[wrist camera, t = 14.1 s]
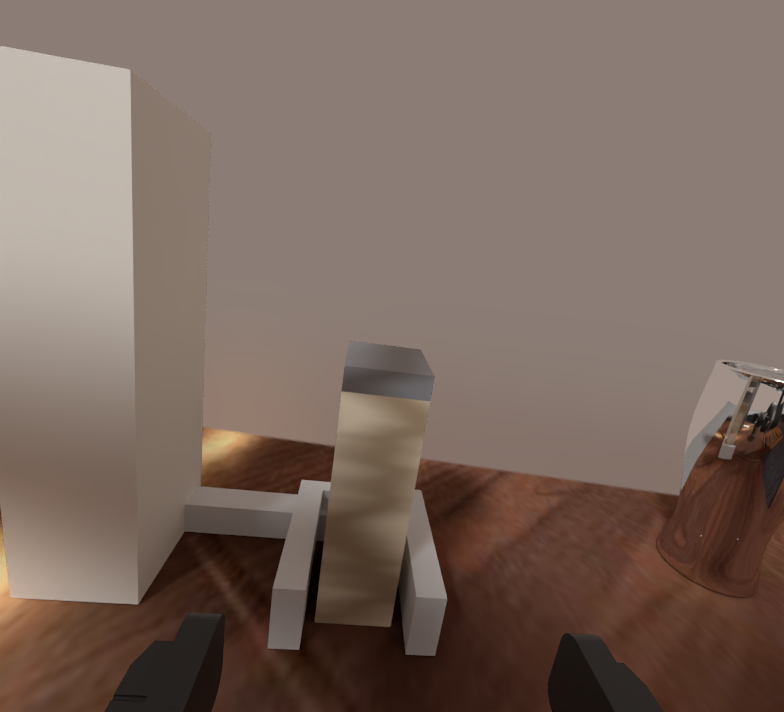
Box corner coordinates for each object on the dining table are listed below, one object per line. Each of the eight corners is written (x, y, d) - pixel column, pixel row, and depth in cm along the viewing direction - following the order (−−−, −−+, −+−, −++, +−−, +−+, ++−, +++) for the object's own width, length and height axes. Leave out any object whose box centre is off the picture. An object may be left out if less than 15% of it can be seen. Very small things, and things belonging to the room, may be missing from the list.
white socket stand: (-28, 635, 18) (-118, 2, 12) (109, 500, 28) (96, 112, 22) (435, 656, 20) (549, 127, 14) (411, 524, 30) (473, 177, 24)
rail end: (314, 622, 21) (344, 365, 17) (324, 552, 26) (349, 340, 22) (390, 627, 21) (434, 376, 18) (386, 557, 26) (420, 349, 23)
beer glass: (636, 523, 34) (694, 353, 30) (730, 547, 33) (802, 371, 29) (670, 584, 27) (749, 376, 24) (789, 618, 26) (892, 401, 22)
